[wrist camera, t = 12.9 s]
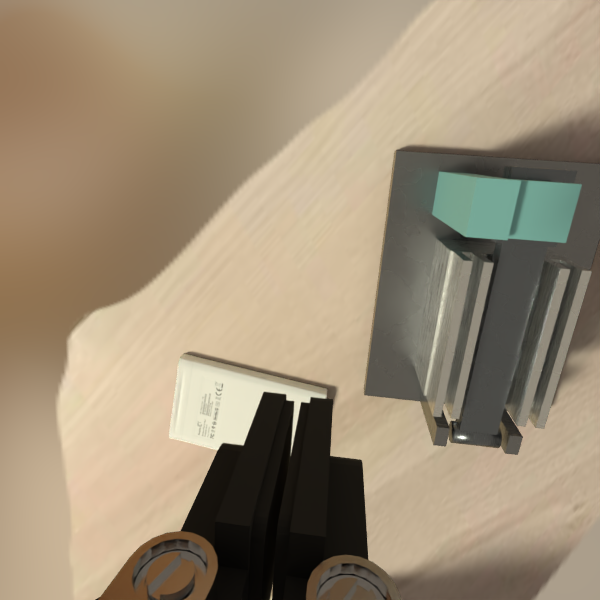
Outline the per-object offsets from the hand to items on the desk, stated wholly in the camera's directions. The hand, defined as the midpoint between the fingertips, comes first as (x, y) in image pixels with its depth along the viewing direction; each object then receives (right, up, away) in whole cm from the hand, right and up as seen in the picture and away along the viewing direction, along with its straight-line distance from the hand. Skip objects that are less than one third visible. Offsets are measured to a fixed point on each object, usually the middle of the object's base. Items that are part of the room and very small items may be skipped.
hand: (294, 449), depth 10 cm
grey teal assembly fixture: (+13, +4, +21) cm, 25 cm away
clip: (+12, +10, +18) cm, 24 cm away
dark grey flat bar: (+12, +2, +16) cm, 20 cm away
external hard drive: (-4, -6, +27) cm, 28 cm away
